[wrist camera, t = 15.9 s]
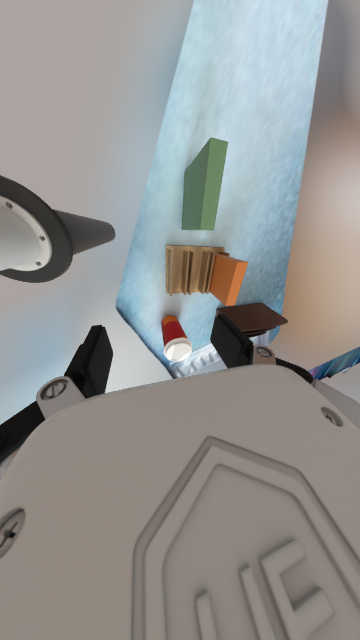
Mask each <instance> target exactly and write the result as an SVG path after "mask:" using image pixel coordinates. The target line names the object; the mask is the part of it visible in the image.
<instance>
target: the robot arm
mask: <svg viewBox="0 0 360 640" xmlns="http://www.w3.org/2000/svg"><path fill="white" fill-rule="evenodd" d="M11 205H12V206H11ZM43 237H44V238H45V239H44V238H43ZM51 256H52V245H51V241H50V239H49V236H48V234H47V233H46V231H45V229H44V228H43V226H42V225H41V224H40V222H39V221H38V220H37V219H36V218H35V217H34V216H33V215H32V214H31V213H29V212H28V211H27V210H26V209H25V208H23V207H21V206H20V205H18V204H17V203H15V202H13V201H11V200H9V199H7V198H5V197H2V196H0V271H2V270H5V269H9V268H11V269H15V270H21V271H32V270H36V269H40V268H42V267H44V266H45V265H46V264H48V262H49V261H50V259H51ZM40 263H41V264H40ZM210 340H211V343H212V344H213V346H214V347H215V349H216V351H217V352H218V354H219V355H220V357H221V359H222V360H223V362H224V363H225V365H226V366H227V368H228V369H223V370H218V371H213V372H208V373H203V374H198V375H192V376H187V377H182V378H177V379H172V380H167V381H162V382H157V383H152V384H147V385H142V386H137V387H132V388H127V389H123V390H118V391H113V392H109V393H105V389H106V384H107V380H108V375H109V371H110V366H111V362H112V357H113V350H112V347H111V344H110V341H109V338H108V335H107V332H106V329H105V327H102V325H96V326H92V327H91V329H90V331H89V333H88V335H87V337H86V339H85V341H84V343H83V344H81V345H80V346H79V348H78V350H77V351H76V353H75V355H74V357H73V359H72V361H71V363H70V365H69V367H68V368H67V371H66V372H65V374H64V376H63V377H57V378H54V379H52V380H50V381H49V382H47V383H46V384H45V385H44V386H42V387H41V389H40V390H39V391H38V392H37V395H36V401H35V402H33V403H32V404H30V405H29V406H27V407H26V408H24V409H23V410H22V411H20V412H19V413H17V414H16V415H14V416H13V417H11V418H10V419H8V420H7V421H6V422H4V423H3V424H1V425H0V640H360V404H359V403H358V402H356V401H355V400H353V399H352V398H350V397H348V396H346V395H344V394H343V393H341V392H339V391H337V390H335V389H334V388H332V387H330V386H328V385H326V384H325V383H323V382H321V381H319V380H317V379H316V380H314V379H313V377H312V375H311V374H310V373H309V372H308V371H306V370H305V369H303V368H301V367H299V366H297V365H294V364H291V363H289V362H286V361H283V360H281V359H278V358H276V357H275V355H274V353H273V351H272V350H270V349H269V348H267V347H265V346H262V345H256V346H253V342H252V341H251V340H250V339H249V338H248V337H247V336H246V335H245V334H244V333H243V332H242V331H241V330H240V329H239V328H238V327H237V326H236V325H235V324H234V323H233V322H232V321H231V320H230V319H229V318H228V317H227V316H226V315H225V314H218V315H217V316H216V317H215V321H214V325H213V329H212V333H211V338H210Z"/></svg>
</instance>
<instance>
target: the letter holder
mask: <svg viewBox="0 0 360 640" xmlns="http://www.w3.org/2000/svg"><path fill="white" fill-rule="evenodd" d="M218 314H225V315H226V316H227V317H228V318H229V319H230V320H231V321H232V322H233V323H234V324H235V325H236V326H237V327H238V328H239V329H240V330H241V331H242V332H243V333H244V334H245V335H246V336H247V337H248V338H250V337H255V336H259V335H262V334H265V333H266V332H267V331H268V330H271V329H274V328H275V327H276V326H279V325H283V324H286V323H287V322H288V320H287V319H285V318H284V317H282V316H281V315H279V314H278V313H277V312H275V311H274V310H272V309H270V308H269V307H267V306H266V305H264V304H263V303H257V304H249V305H242V306H234V307H227V308H220V309H217V312H216V316H217V315H218Z"/></svg>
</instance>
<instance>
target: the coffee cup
mask: <svg viewBox="0 0 360 640" xmlns="http://www.w3.org/2000/svg"><path fill="white" fill-rule="evenodd" d="M162 333H163V341H164V355H165V356H166V357H167V358H168V359H169V360H171V361H177V362H179V361H182V360H185V359H186V358H188V357H189V356H190V354H191V352H192V344H191V342H190V341H189V340H188V338H187V336H186V335H185V333H184V331H183V329H182V327H181V325H180V323H179V321H178V320H177V318H176V317H175V316H171V315H170V316H166V317H165V318H163V320H162Z"/></svg>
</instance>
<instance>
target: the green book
mask: <svg viewBox="0 0 360 640" xmlns="http://www.w3.org/2000/svg"><path fill="white" fill-rule="evenodd" d="M227 145H228V142H227V141H223V140H219V139H215V138H210V139H209V141H208V142H207V143H206V145H205V146H204V147H203V149H202V150H201V151H200V153H199V154H198V155H197V157H196V158H195V159H194V161H193V162H192V163H191V165H190V166H189V167H188V168H187V170H186V171H185V176H184V196H183V215H182V230H214V226H215V220H216V213H217V207H218V201H219V195H220V189H221V182H222V176H223V170H224V164H225V157H226V151H227Z"/></svg>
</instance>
